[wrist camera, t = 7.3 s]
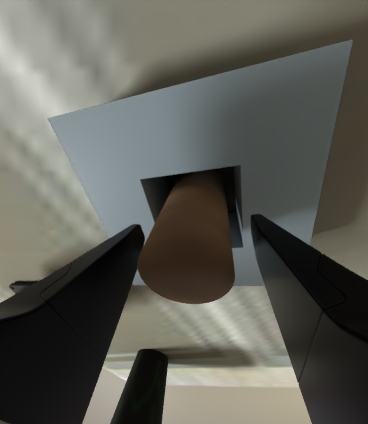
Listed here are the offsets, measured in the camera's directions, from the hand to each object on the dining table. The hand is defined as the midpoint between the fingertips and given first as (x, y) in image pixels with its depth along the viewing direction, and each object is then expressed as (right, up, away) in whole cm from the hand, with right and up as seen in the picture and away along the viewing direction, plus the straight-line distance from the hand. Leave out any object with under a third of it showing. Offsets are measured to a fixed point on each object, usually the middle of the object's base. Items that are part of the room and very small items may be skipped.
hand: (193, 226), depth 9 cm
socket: (+1, +3, +4) cm, 5 cm away
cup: (-6, -25, +23) cm, 34 cm away
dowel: (+1, +3, +4) cm, 5 cm away
